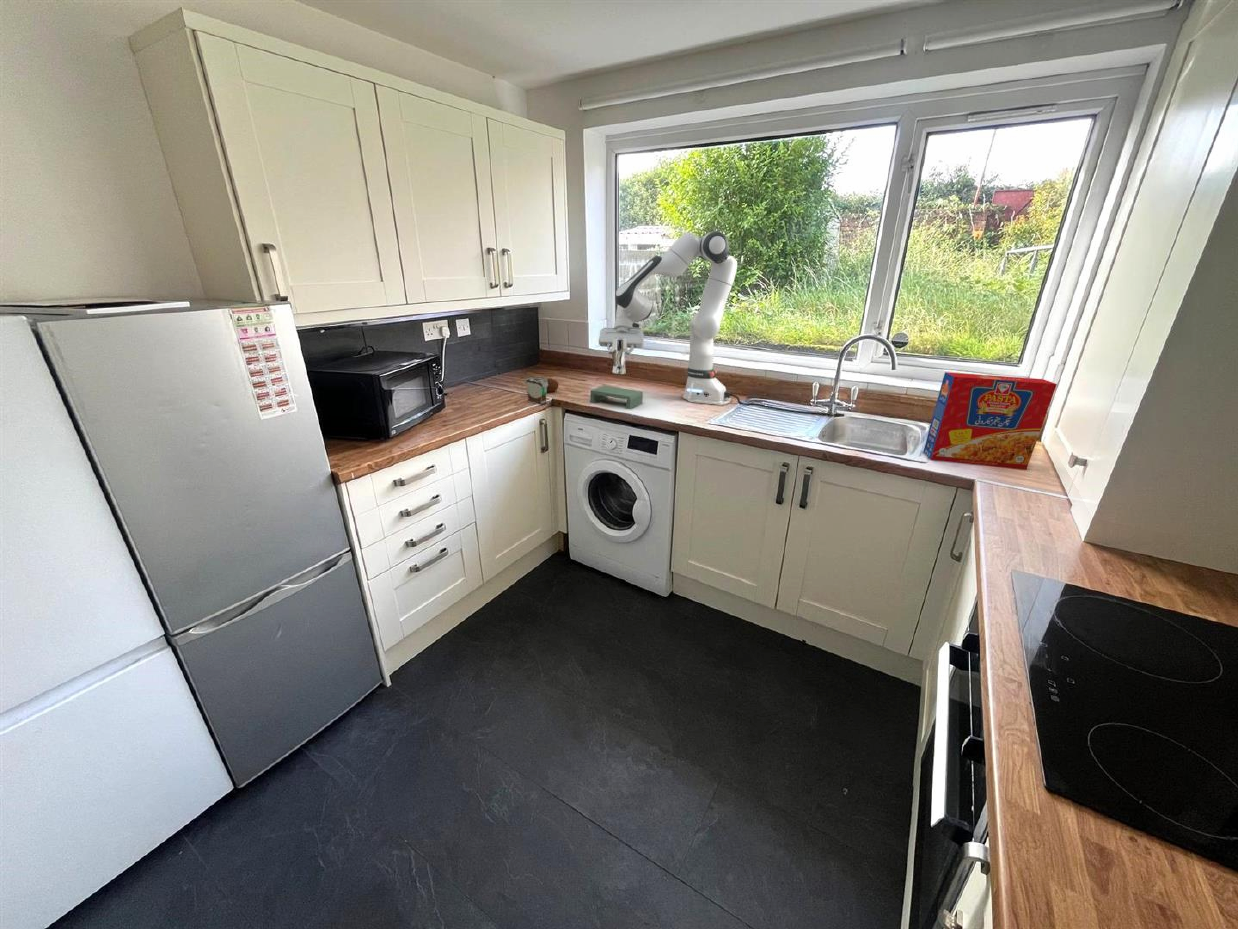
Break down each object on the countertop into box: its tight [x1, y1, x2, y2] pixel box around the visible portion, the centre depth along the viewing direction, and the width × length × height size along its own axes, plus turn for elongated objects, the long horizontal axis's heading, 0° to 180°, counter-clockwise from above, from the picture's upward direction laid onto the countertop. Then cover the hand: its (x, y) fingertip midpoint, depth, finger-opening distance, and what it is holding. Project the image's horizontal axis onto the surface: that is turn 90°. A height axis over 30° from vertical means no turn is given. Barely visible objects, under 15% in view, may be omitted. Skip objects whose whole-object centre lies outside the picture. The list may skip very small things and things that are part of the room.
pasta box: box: [922, 371, 1058, 471], centre depth 162 cm, size 28×8×28 cm, turn 76°
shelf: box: [589, 385, 644, 410], centre depth 222 cm, size 20×12×6 cm, turn 61°
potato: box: [545, 378, 559, 393], centre depth 238 cm, size 6×12×6 cm, turn 151°
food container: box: [525, 377, 548, 406], centre depth 218 cm, size 12×6×10 cm, turn 46°
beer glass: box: [611, 338, 629, 375], centre depth 220 cm, size 7×7×15 cm
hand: (619, 353), depth 219 cm, fingers closed on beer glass, 7 cm apart
